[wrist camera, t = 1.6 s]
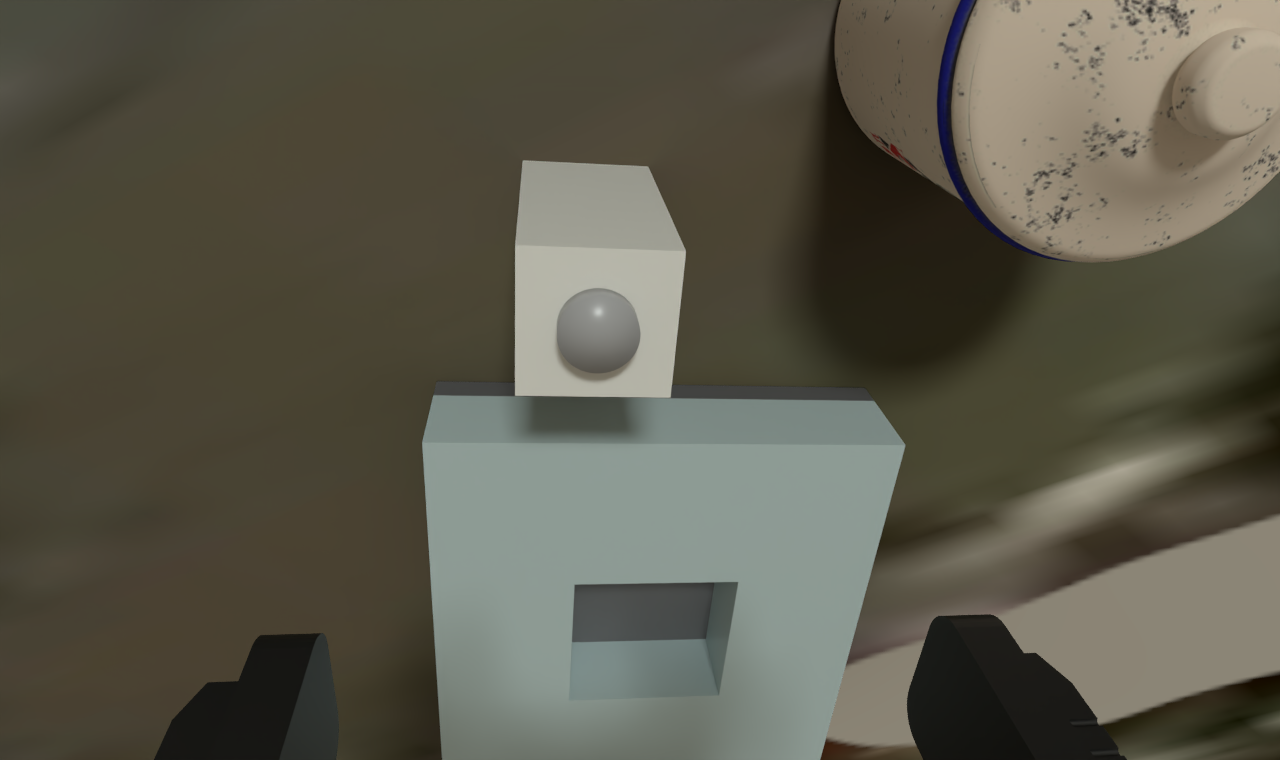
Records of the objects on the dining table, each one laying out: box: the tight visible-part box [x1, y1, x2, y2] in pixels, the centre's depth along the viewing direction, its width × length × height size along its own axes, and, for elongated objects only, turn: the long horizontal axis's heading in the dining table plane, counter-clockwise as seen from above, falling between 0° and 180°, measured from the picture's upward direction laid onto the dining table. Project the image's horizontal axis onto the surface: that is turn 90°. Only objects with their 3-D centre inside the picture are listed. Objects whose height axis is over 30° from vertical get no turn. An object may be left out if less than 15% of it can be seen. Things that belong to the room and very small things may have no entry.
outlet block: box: [422, 382, 905, 760], centre depth 33 cm, size 16×18×4 cm
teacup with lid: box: [835, 0, 1280, 262], centre depth 20 cm, size 12×9×12 cm
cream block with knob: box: [515, 161, 686, 398], centre depth 23 cm, size 4×4×9 cm
